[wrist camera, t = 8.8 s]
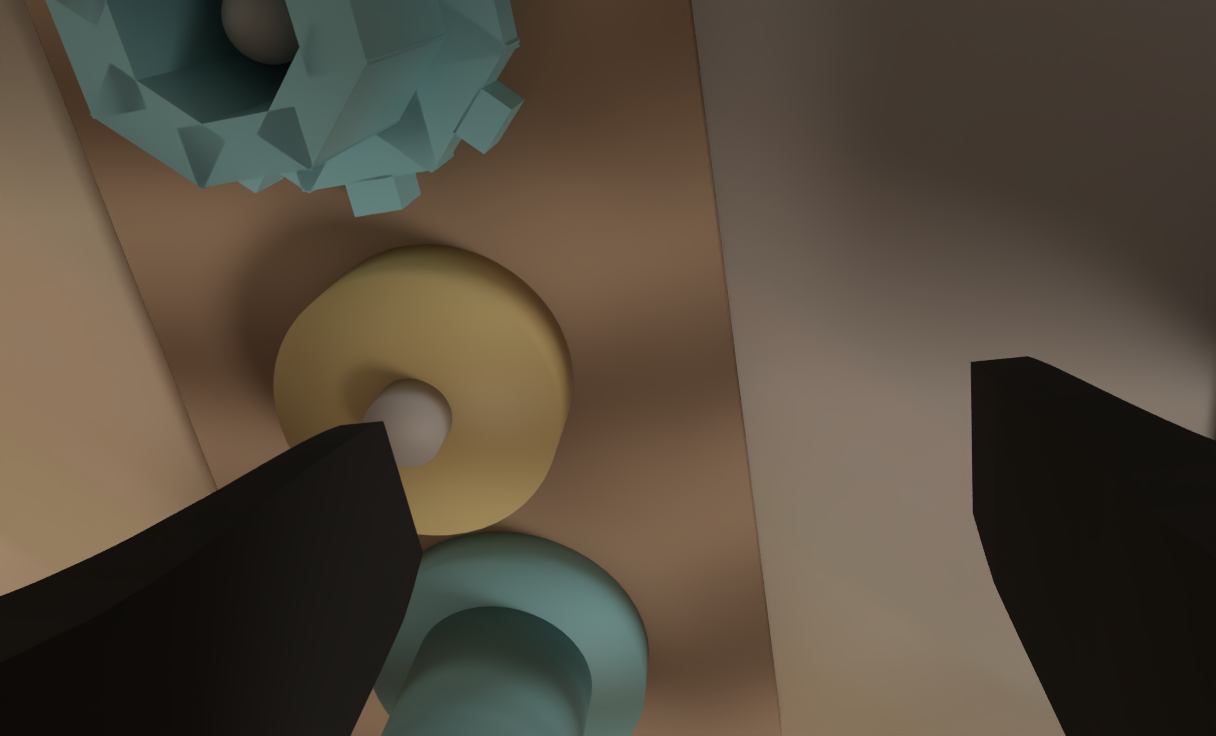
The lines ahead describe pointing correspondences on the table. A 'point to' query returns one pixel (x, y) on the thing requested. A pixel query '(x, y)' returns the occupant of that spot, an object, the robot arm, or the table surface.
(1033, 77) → the table surface
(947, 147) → the table surface
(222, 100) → the gear
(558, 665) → the gear carrier
